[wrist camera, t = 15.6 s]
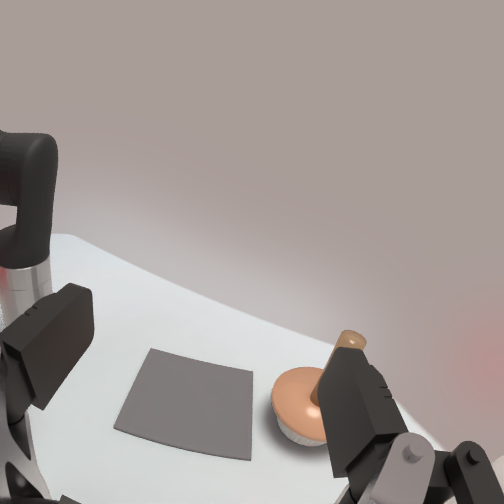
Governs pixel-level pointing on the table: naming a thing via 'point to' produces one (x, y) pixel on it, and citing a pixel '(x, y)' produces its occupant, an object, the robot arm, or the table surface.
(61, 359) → the robot arm
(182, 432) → the mat
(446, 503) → the milk bottle
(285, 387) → the lid
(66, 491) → the table surface
